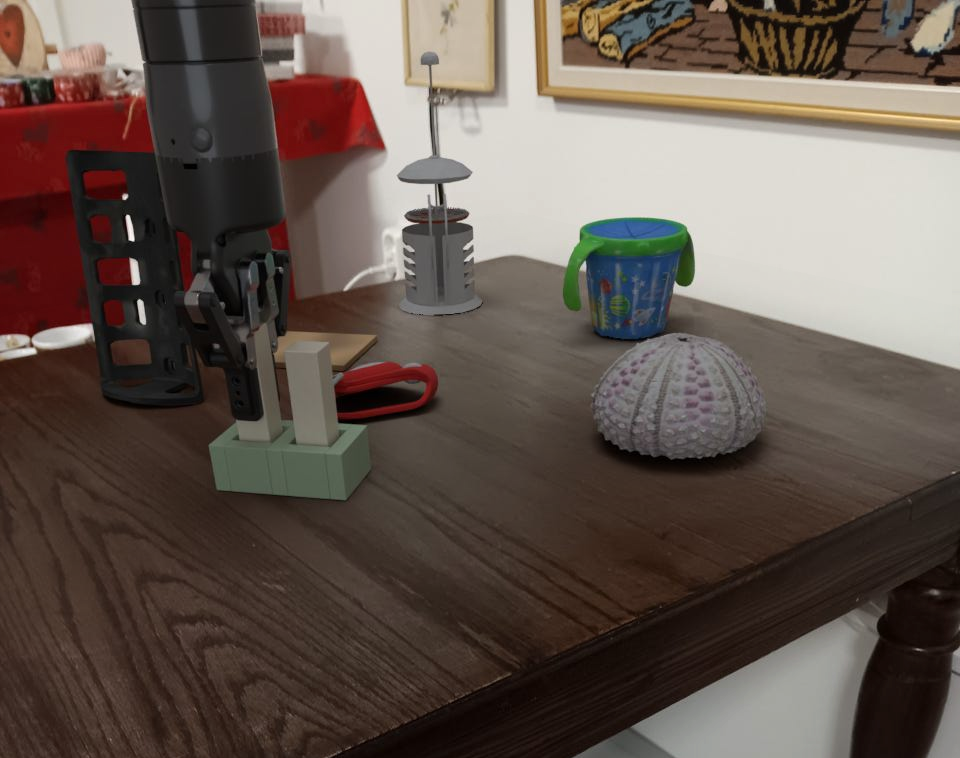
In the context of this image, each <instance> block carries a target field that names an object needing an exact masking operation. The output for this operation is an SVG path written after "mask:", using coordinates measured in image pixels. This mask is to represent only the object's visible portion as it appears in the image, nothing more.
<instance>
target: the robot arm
mask: <svg viewBox="0 0 960 758" xmlns="http://www.w3.org/2000/svg"><path fill="white" fill-rule="evenodd" d="M130 1H131V7H132V9H133V10H132V12H133V18H134V23H135V29H136V33H137V39H138V40H137V41H138V45H139V50H140V56H141V60H142V61H143V63H142V68H143V77H144V78H143V79H144V94H145V106H146V113H147V119H148V124H149V129H150V135H151V141H152V145H153V152H155V157H156V162H157V168H158V173H159V179H160V184H161V189H162V195H163V200H164V206H165V211H166V217H167V221H168V224H169V225H170V226H171V227H172V228H173V229H174V230H176V231H177V233H183V234H184V235H186V236H187V237H188V239H189V241H190V251H191V252H190V270H191V274H192V276H193V281H192V283H191V285H190V287H189V289H188V290H187V291H186V290H185V291H177V292H175V294H174V298H173V302H174V307H175V309H176V311H177V313H178V315H179V317H180V319H181V321H182V323H183V325H184V327H185V329H186V331H187V332H188V334H189V336H190V338H191V340H192V342H193V344H194V346H195V350H196V353H197V354H198V356H199V358H200V360H201V363H202V364H203V366H204V367H206V368H219V369H222V370H223V372H224V376H225V383H226V387H227V388H226V389H227V394H228V401H229V405H230V412H231V416H232V418H233V419H234V420H235V421H236V420H240V421H259V420H260V419H261V418H262V417H263V416H264V410H263V404H262V397H261V391H260V384H259V377H258V371H257V367H256V362H257V359H256V349H255V340H254V334H255V332H257V331H258V330H259V328H260V322H264V323H267V328H268V334H269V340H270V347H271V354H272V360H273V367H274V374H275V380H276V387H277V394H278V401H279V403H280V402H281V393H280V387H279V380H278V379H279V378H278V373H277V371H278V370H277V368H276V364H275V357H274V354H273V353H276V352H277V350H278V339H277V338H278V337H280V336H285V335H286V332H287V331H288V318H289V317H288V316H289V303H290V302H289V301H290V286H291V285H290V284H291V271H292V269H291V268H292V256H291V253H290V250H288V249H274V248H273V246H272V240H271V239H272V238H271V236H270V234H269V229H272V228H275V227H277V226H278V225H280V224H282V222H284V220H285V218H286V215H287V212H286V211H287V210H286V204H285V194H284V187H283V179H282V171H281V162H280V156H279V155H280V153H279V146H278V137H277V131H276V130H277V129H276V122H275V112H274V107H273V99H272V95H271V90H270V85H269V82H268V78H267V75H266V74H267V73H266V70H265V63H264V59H263V58H262V57H263V50H262V42H261V33H260V25H259V19H258V9H257V6H256V5H257V2H256V0H130ZM234 334H237V335H238V336H239V337H240V343H241V348H240V346H239V343H238V341H237V339H236V337H235V335H234Z"/></svg>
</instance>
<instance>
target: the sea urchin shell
mask: <svg viewBox="0 0 960 758" xmlns="http://www.w3.org/2000/svg"><path fill="white" fill-rule="evenodd" d="M743 359H744V358H743V357H741V356H739V355H738V354H737V353H736V352H735V351H734V350H733V349H731V348H730V347H729V346H728V345H726V344H725V343H723V342H722V341H719V340H717V339H713V338H710V337H705V336H697V335H694V334H691V333H684V332H671V333H667V334H664V335H660V336H658V337H654V338H647V339H646V340H644V341H642V342H636V344H635V346H633V347H631V348H630V349H626V350H625V352H624V353H623V354H622V355H620V356H619V357H618V358H616V359H615V361H614V362H613V363H612V364H611V365H610V366H609V367H608V368H607V369H606V371H604V373H602V376H601V377H600V378H599V382H598V383H597V384H596V385H595V386H593V388H594V389H593V390H594V391H593V392H592V393H591V394H590V396H591V399H592V402H591V404H590V405H589V408H590V409H591V410H592V411H593V414H592V419H593V420H594V421H595V422H596V423H597V432H599V433H601V434H603V437H604V440H605V441H610V442H611V443H612V445H616V446H618V447H619V450H626V451H627V452H629V453H631V452H634V451H635V452H639V454H640V455H641V456H643V455H645V456H649V455H650V456H651V457H652V458H657V457H660V456H663V457H666V458H668V459H670V461H671V460H675V459H679V460H680V459H681V460H684V459H687V458H689V459H692V458H693V459H695V458H697V459H699V460H700V459H702V458H709V457H712V458H715V457H716V456H717V455H718V454H721V455H725V454H727V453H729V454H732V453H733V452H737V451H738V450H741V449H742V448H746V446H747V445H748V444H749V443H751V442H753V441H755V440H756V437H757V435H758V434H759V433H761V432H762V431H763V428H762V427H764V424H765V422H766V416H767V414H768V410H767V408H766V405H767V401H766V400H765V398H764V393H765V392H764V390H763V388H761V387H760V386H759V384H758V382H757V379H758V376H756V375H754V374H753V373H752V369H751V366H750V365H748V364H746V362H744V360H743Z"/></svg>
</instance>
